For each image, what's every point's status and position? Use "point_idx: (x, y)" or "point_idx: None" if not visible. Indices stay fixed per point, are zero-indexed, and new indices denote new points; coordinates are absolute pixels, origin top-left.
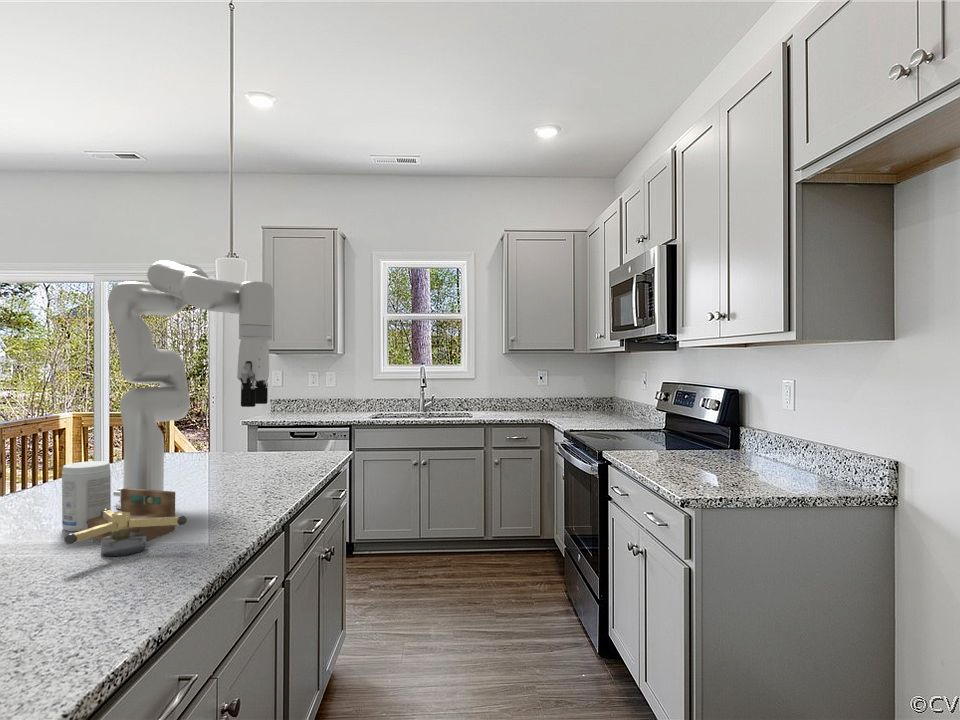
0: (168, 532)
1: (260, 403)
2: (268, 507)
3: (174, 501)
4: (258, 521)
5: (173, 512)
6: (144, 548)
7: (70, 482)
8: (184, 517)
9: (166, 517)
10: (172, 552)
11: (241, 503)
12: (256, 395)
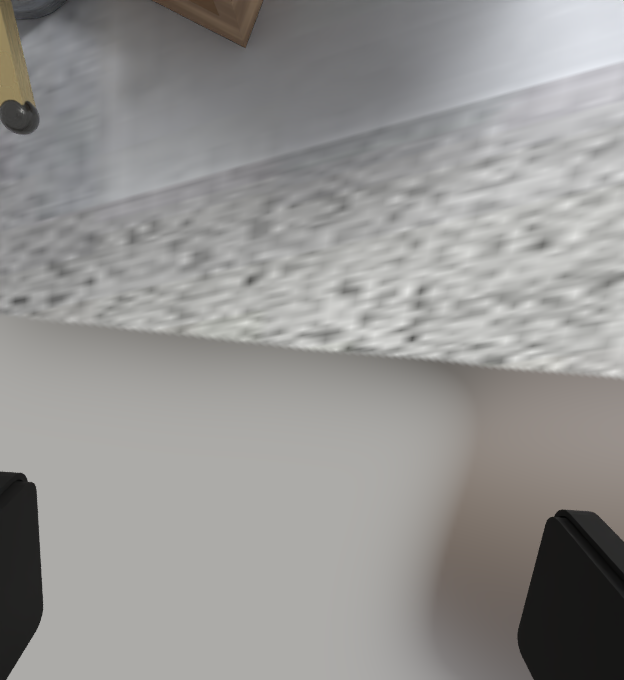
0: (217, 33)
1: (538, 581)
2: (526, 298)
3: (229, 4)
4: (339, 301)
5: (229, 19)
6: (22, 17)
7: None
8: (9, 125)
9: (3, 53)
10: None
11: (614, 189)
12: (610, 628)
